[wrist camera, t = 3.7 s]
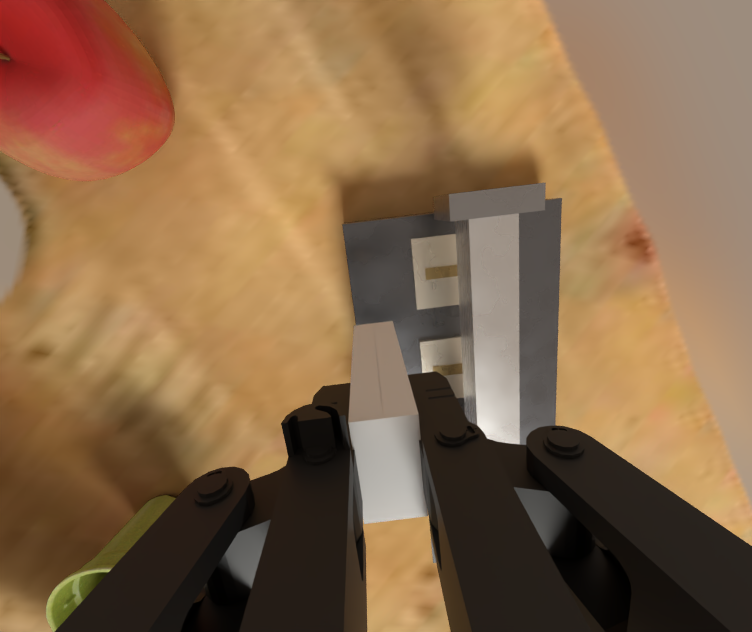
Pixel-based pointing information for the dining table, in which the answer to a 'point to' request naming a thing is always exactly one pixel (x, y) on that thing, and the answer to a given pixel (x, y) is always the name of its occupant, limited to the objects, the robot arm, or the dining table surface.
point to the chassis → (441, 298)
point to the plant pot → (101, 563)
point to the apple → (78, 90)
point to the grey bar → (490, 300)
